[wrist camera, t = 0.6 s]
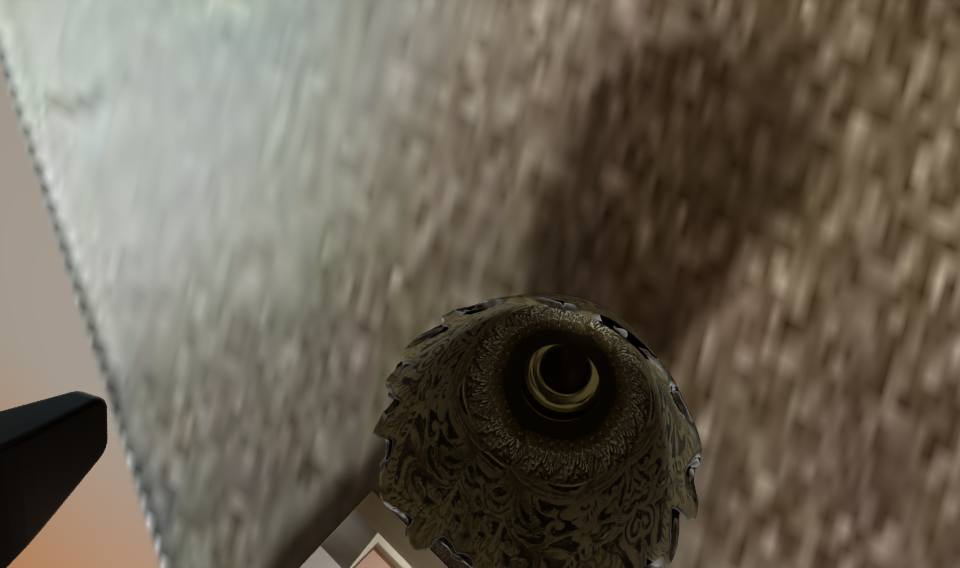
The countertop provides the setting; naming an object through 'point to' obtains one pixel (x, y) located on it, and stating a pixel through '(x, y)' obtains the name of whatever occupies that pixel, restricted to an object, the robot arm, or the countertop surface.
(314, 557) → the cream shallow open box
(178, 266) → the countertop surface
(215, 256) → the countertop surface
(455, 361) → the dark brown rounded vessel
